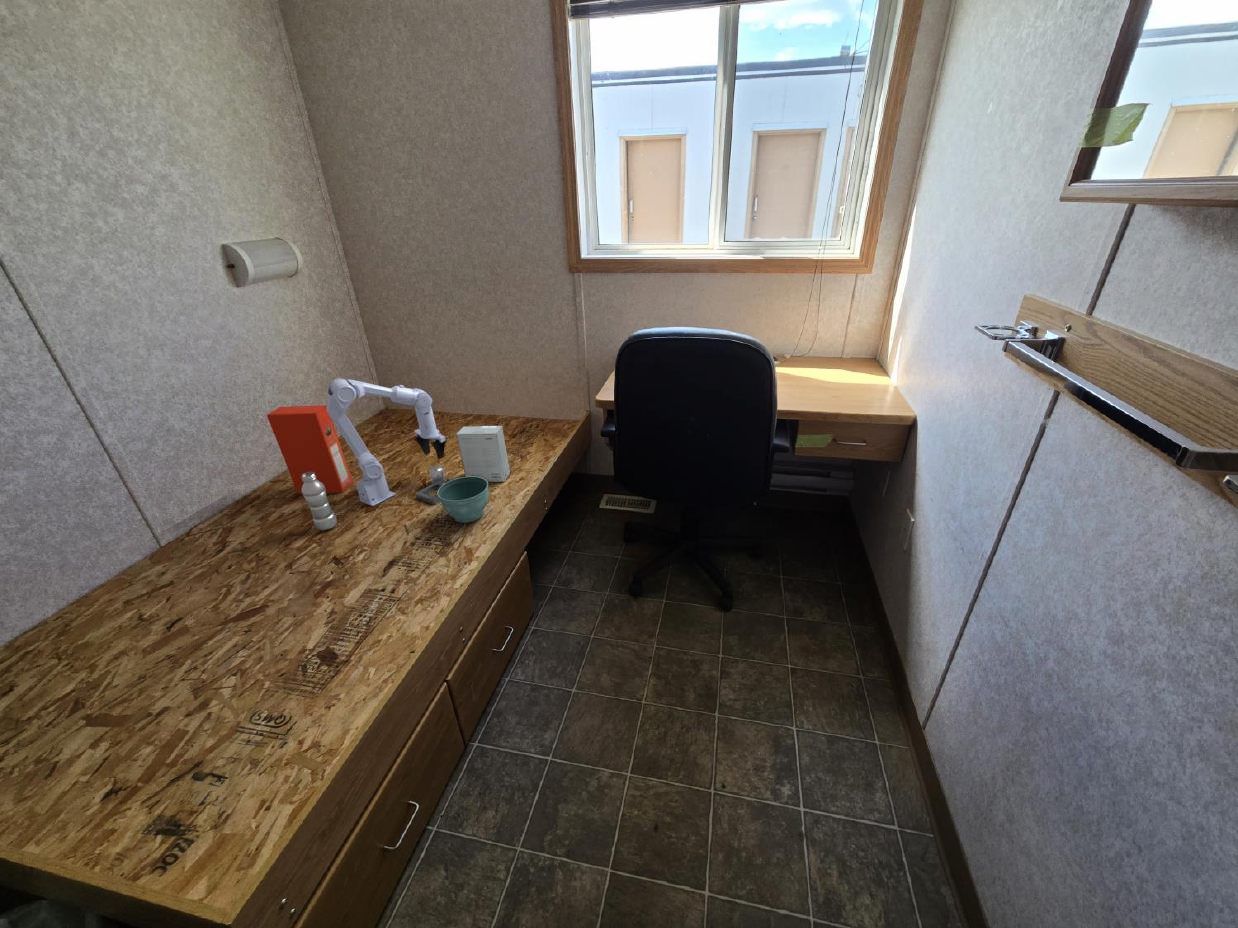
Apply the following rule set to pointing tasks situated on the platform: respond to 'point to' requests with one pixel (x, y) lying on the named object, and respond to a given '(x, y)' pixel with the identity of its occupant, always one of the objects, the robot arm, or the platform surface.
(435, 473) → the shiny metal cylinder
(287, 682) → the platform surface
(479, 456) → the hard drive box
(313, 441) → the file binder
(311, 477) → the plastic bottle
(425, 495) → the grey rectangular frame
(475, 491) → the flower pot
